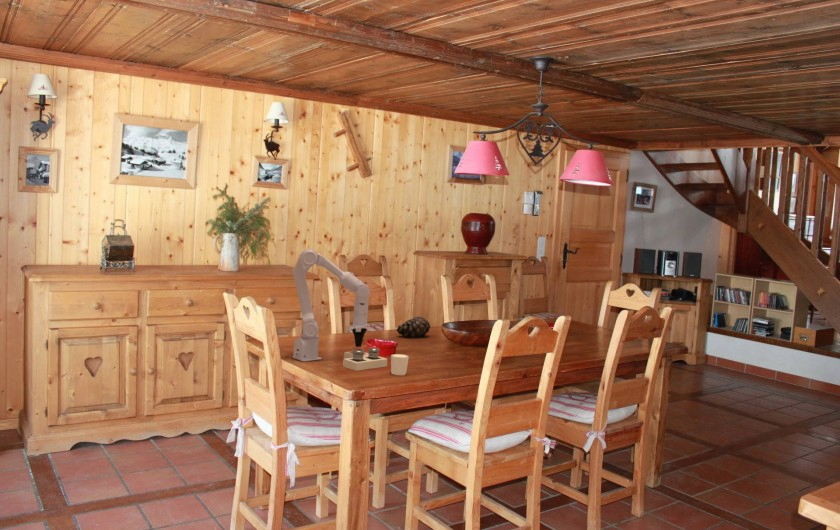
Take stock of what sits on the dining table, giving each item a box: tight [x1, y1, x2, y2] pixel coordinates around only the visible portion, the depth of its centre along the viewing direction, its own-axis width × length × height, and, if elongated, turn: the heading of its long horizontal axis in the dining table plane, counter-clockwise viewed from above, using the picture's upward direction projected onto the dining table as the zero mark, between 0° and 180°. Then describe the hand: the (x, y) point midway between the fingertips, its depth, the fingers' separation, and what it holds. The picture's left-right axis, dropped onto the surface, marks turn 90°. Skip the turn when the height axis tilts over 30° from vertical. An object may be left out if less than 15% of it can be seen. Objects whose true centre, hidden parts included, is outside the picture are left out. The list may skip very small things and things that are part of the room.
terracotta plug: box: [352, 344, 365, 350], centre depth 291 cm, size 5×5×4 cm
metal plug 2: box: [367, 346, 381, 360], centre depth 284 cm, size 5×5×4 cm
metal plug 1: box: [352, 348, 365, 362], centre depth 278 cm, size 5×5×4 cm
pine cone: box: [396, 316, 431, 339], centre depth 353 cm, size 10×18×10 cm, turn 137°
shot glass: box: [390, 353, 409, 376], centre depth 274 cm, size 7×7×7 cm
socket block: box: [342, 350, 388, 372], centre depth 285 cm, size 16×18×3 cm
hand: (358, 346), depth 291 cm, fingers closed, pressing on terracotta plug
